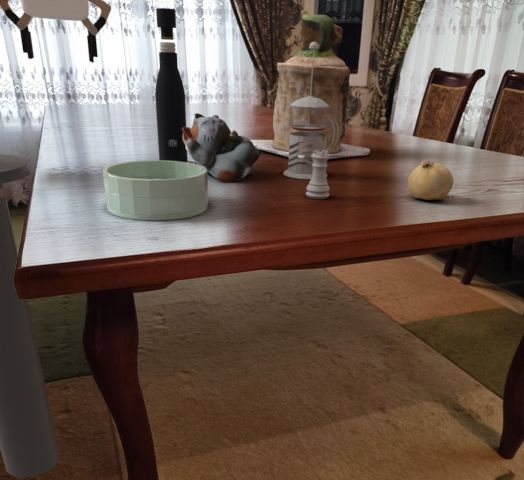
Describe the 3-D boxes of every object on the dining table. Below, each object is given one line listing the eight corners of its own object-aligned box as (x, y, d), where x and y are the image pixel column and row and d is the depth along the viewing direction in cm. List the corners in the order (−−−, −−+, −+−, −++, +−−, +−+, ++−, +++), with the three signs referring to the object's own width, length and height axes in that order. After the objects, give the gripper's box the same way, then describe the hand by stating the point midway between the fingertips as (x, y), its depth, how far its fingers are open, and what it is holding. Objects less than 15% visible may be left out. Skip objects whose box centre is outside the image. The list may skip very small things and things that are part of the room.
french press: (297, 168, 120) (305, 42, 108) (343, 175, 115) (356, 43, 102) (274, 174, 113) (279, 40, 101) (321, 182, 108) (333, 41, 95)
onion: (412, 192, 102) (418, 153, 99) (453, 198, 99) (462, 158, 95) (399, 200, 96) (406, 159, 93) (443, 206, 93) (451, 165, 89)
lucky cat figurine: (240, 185, 103) (203, 117, 96) (196, 200, 110) (159, 138, 103) (271, 151, 112) (240, 87, 105) (229, 168, 119) (197, 109, 113)
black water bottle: (176, 159, 125) (169, 10, 110) (193, 164, 121) (188, 9, 106) (154, 162, 121) (143, 8, 106) (170, 167, 117) (161, 7, 102)
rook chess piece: (306, 199, 95) (310, 152, 91) (303, 193, 99) (306, 148, 95) (331, 199, 95) (335, 153, 91) (327, 194, 99) (331, 149, 95)
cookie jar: (304, 163, 125) (315, 3, 109) (242, 149, 142) (244, 8, 126) (373, 155, 139) (391, 12, 123) (309, 143, 155) (318, 15, 140)
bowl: (125, 225, 78) (121, 183, 75) (95, 200, 90) (90, 163, 87) (224, 213, 85) (224, 175, 82) (184, 191, 97) (182, 157, 94)
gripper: (105, -58, 85) (113, 62, 94) (-12, -72, 81) (8, 56, 89) (107, -65, 79) (116, 64, 88) (-20, -80, 74) (3, 58, 83)
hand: (61, 60), depth 88 cm, fingers open, 9 cm apart
